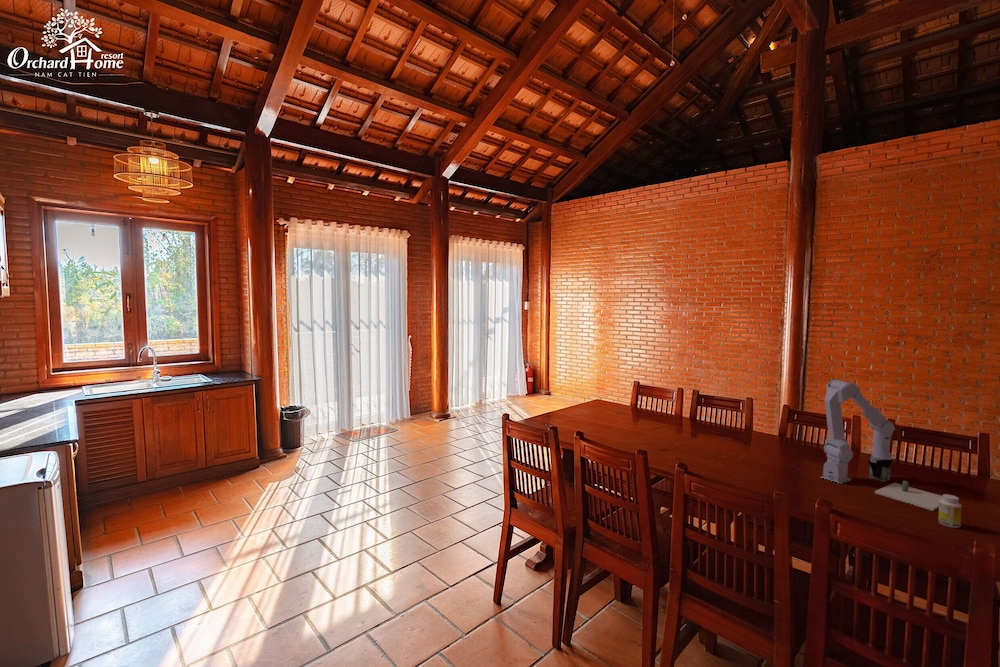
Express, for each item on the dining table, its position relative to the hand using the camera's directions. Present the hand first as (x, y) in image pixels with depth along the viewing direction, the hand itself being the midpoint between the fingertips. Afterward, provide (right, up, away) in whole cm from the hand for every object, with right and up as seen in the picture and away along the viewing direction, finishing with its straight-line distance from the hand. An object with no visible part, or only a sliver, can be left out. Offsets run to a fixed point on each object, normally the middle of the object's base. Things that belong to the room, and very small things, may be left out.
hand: (879, 475), depth 197 cm
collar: (0, -1, 0) cm, 1 cm away
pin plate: (-3, -3, -18) cm, 19 cm away
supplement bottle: (-11, -4, -41) cm, 42 cm away
